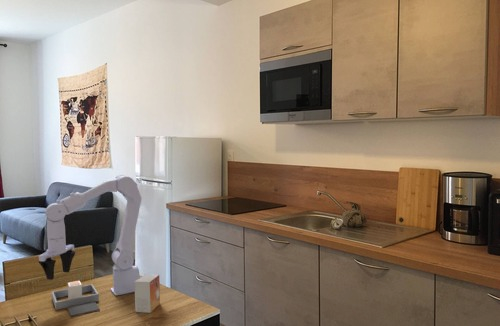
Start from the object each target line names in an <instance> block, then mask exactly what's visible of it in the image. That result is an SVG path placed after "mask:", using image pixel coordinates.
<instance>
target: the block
mask: <svg viewBox="0 0 500 326" xmlns="http://www.w3.org/2000/svg"><path fill="white" fill-rule="evenodd" d="M82 286H83V285H82V283H81V281H80V280H75V281H70V282H67V289H68V296H67V297H68V298H67V300H69V299H74V298H79V297H83V293H82Z"/></svg>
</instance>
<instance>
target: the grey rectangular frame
mask: <svg viewBox="0 0 500 326" xmlns="http://www.w3.org/2000/svg"><path fill="white" fill-rule="evenodd" d="M88 292H89V293H90V292H91V293H92V294H89V295H85V296H82V297H79V298H74V299H65V300H60V301H58V300H57V299H59V298H63V297H68V288H64V289H60V290H54V291H51V299H52V302H53V306H54V308H55V311H57V310H61V309H67V307H70V306H75V305H80V304H84V303H89V302H94V301H95V302H99V301H100V297H99V292H98V291H97V289H96V287H95V286H94V284H93V283H91V284H86V285H82V294H85V293H88Z"/></svg>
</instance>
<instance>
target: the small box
mask: <svg viewBox="0 0 500 326" xmlns="http://www.w3.org/2000/svg"><path fill="white" fill-rule="evenodd" d="M160 285H161V284H160V275H159V274H152V273H150V274H149V273H145V274H143V275H142V276H141V277H140V278H139V279H138V280H137V281H135V292H134V306H135V313H146V314H147V313H150V314H151V313H152V312H153V311H154V310H155V309H156V308H157V307H158V306H159V305H160V304H161V293H160V291H161V290H160V288H161V286H160Z"/></svg>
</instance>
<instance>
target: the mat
mask: <svg viewBox="0 0 500 326" xmlns="http://www.w3.org/2000/svg"><path fill="white" fill-rule="evenodd" d="M96 302H97V301H94V302H89V303H84V304H80V305H75V306H70V307H67V308H66V309H67V311H68V313H69V316H70V317H71V318H72V317H77V316H81V315H86V314H90V313H91V314H92V313H95V312H99V311H100V307H99V306H98V304H97V303H96Z"/></svg>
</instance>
